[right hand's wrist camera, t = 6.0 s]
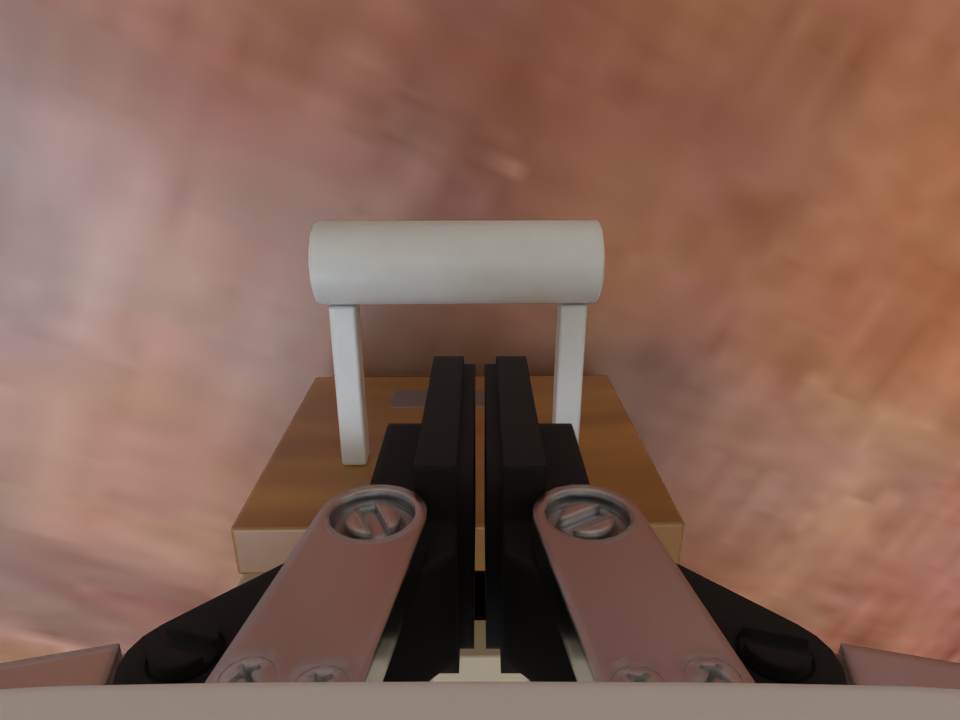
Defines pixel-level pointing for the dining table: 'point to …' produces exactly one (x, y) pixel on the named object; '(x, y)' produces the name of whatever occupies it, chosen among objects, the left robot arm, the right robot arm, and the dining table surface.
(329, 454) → the drawer
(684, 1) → the dining table surface
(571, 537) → the right robot arm
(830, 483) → the dining table surface
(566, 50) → the dining table surface
